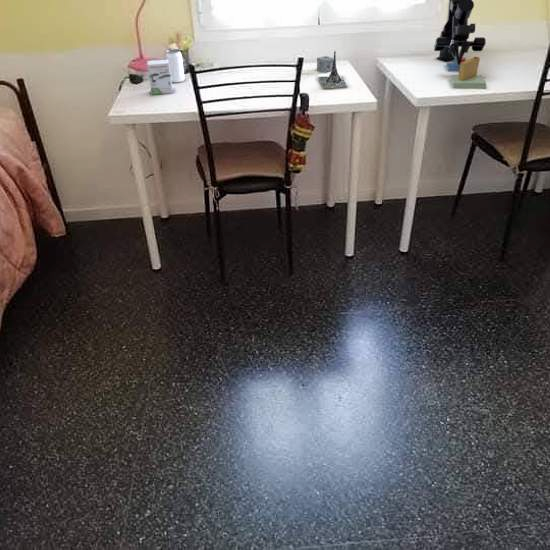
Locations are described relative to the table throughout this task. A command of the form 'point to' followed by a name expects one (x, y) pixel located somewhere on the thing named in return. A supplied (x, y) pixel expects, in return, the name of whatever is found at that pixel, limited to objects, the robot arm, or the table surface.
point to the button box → (453, 66)
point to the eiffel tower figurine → (333, 78)
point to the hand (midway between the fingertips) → (458, 64)
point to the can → (175, 65)
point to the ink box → (159, 76)
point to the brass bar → (468, 68)
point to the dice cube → (325, 63)
